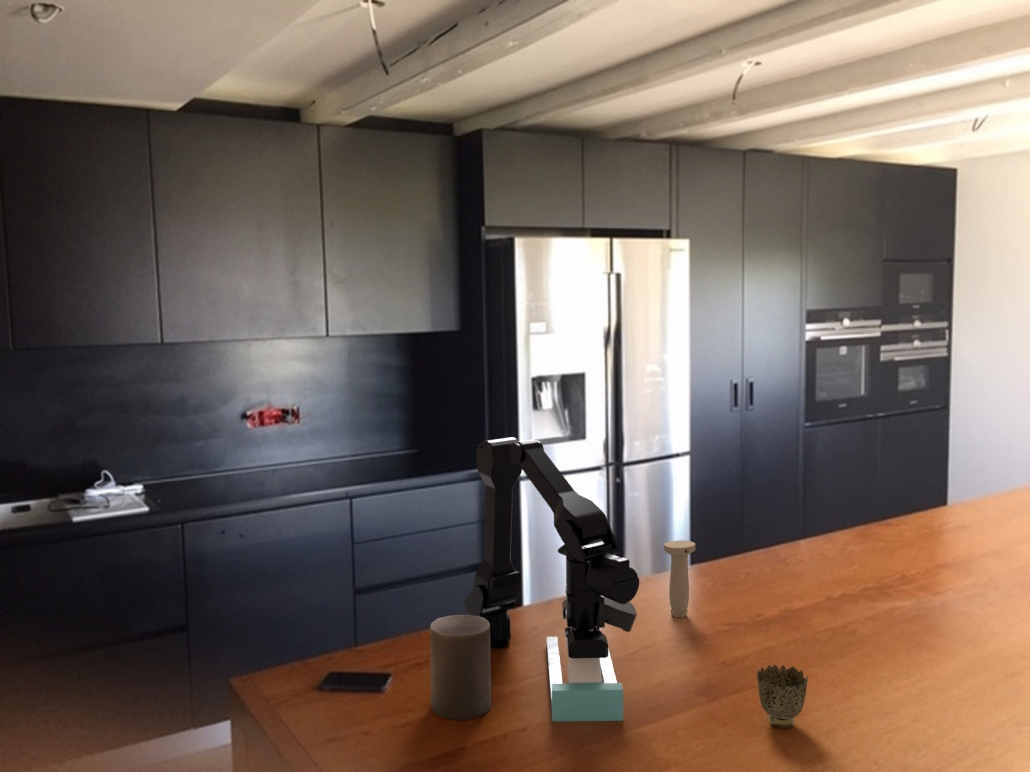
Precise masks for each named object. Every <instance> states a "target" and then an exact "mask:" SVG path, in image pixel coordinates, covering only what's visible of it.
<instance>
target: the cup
mask: <svg viewBox="0 0 1030 772" xmlns="http://www.w3.org/2000/svg"><path fill="white" fill-rule="evenodd" d="M756 671H757V672H756V676H757V689H758V695H759V701H760V704H761V707H762V709H763V710H764V712H765V713H767V715H768V720H769V722H770V724H771V725H772V726H774V727H776V728H779V729H780V728H781V729H787V728H790V727H792V726H793V724H794V722H795V720H794V718H796V717H797V716H799V715H800V713H801V712H802V710H803V708H804V704H805V700H806V695H807V694H806V693H807V688H808V687H807V686H808V680H809V679H808V678H809V676H808V675H807V676H806V677H804V672H803V670H798V669H797V668H796V667H795V666H790V667H789V668H786V667H785V665H784V664H782V665H781V667H780V668H779V667H778V665H776V664H774V665H772V666H771V665H770V664H768V666H767V667H766V669H765V668H764V667H763V666H762V667H761V669H760V670H759V669H757V670H756Z"/></svg>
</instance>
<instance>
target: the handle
mask: <svg viewBox="0 0 1030 772" xmlns="http://www.w3.org/2000/svg"><path fill="white" fill-rule="evenodd" d="M663 551H665V553H666V554H668V555H670V560H671V561H670V574H669V575H670V576H669V586H668V587H669V589H668V593H669V594H668V595H669V604H670V615H671V616H673V617H674V618H682V619H684V618H685V617H687V616H688V606H689V601H690V600H689V598H690V579H689V578H690V577H689V555H690V554H691V553H693V552H695V551H696V542H693V541H691V540H681V539H680V540H679V539H678V540H672V541H667V542H664V543H663Z"/></svg>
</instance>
